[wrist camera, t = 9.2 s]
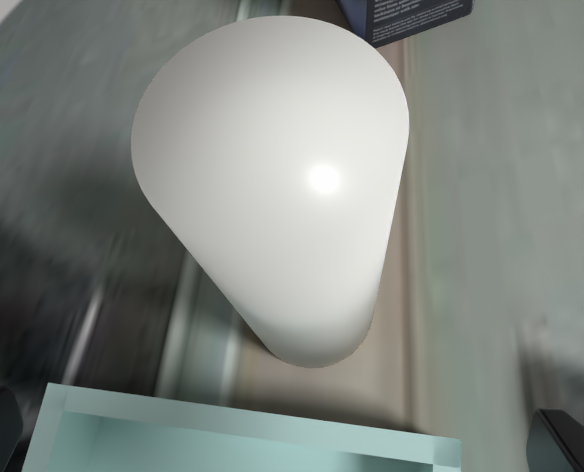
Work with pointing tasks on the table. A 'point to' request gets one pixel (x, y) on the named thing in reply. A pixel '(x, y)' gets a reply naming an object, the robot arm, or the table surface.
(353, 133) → the white tapered cylinder
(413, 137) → the table surface
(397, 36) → the small box
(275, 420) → the tote
